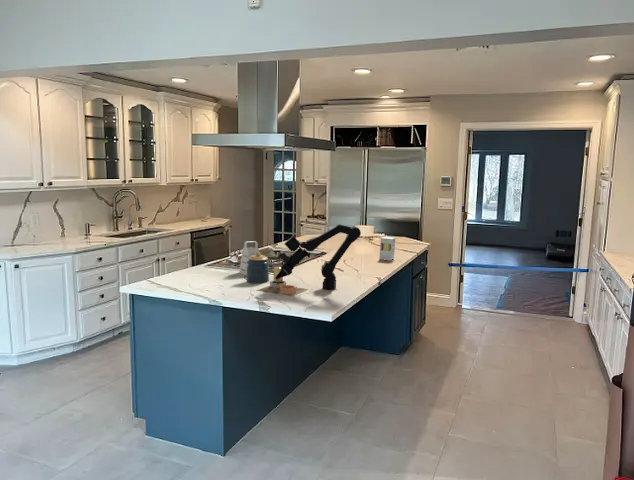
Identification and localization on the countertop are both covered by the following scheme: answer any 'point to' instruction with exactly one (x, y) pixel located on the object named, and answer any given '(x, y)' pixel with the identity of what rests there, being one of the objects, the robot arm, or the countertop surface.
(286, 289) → the ring
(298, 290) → the walnut board
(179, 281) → the countertop surface
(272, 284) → the steel stand collar
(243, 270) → the grater
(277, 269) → the brass shaft
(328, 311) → the countertop surface
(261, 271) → the canister
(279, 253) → the robot arm
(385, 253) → the supplement box
